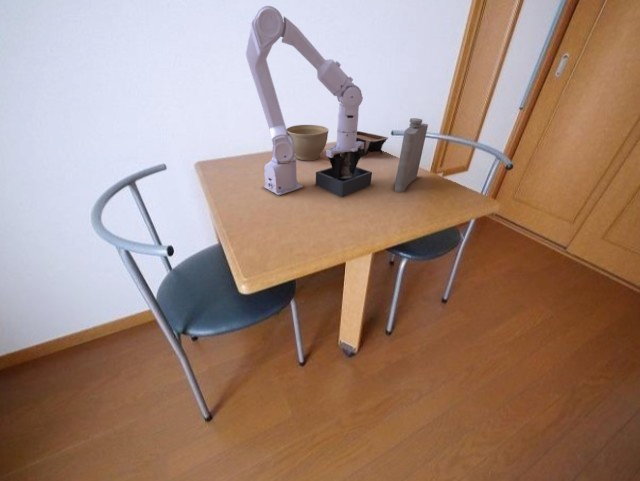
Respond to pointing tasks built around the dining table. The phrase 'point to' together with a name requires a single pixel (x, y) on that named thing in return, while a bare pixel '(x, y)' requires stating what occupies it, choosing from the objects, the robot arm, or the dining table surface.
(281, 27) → the robot arm
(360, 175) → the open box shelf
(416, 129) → the hip flask
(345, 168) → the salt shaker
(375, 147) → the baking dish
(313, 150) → the planter bowl
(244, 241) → the dining table surface
